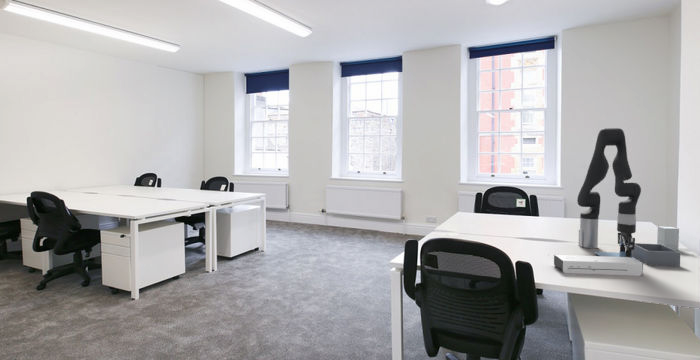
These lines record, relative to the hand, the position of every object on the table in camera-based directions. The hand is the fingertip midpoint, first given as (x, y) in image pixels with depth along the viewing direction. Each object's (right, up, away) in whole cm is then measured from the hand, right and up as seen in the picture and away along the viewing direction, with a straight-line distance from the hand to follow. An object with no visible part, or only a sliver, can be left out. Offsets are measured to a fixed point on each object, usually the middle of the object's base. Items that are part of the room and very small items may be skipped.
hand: (625, 255), depth 192 cm
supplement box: (+47, -2, +31) cm, 56 cm away
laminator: (-20, -6, -8) cm, 23 cm away
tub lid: (+2, -4, +9) cm, 11 cm away
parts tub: (+19, -4, +6) cm, 21 cm away
